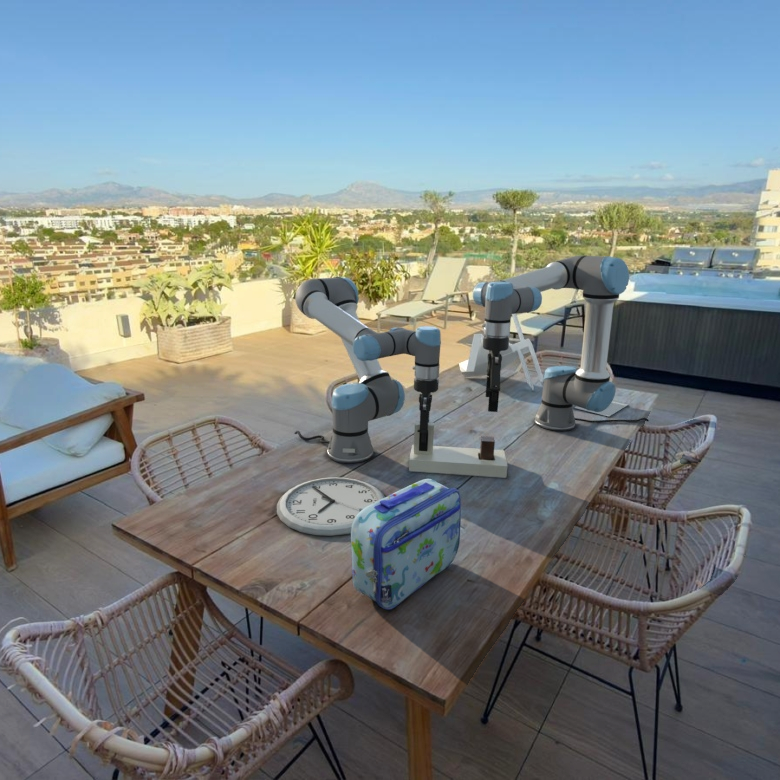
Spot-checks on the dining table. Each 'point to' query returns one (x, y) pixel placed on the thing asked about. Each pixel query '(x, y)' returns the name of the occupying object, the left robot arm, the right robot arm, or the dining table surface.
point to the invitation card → (608, 409)
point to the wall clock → (326, 505)
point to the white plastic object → (480, 355)
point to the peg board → (454, 459)
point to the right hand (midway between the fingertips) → (491, 403)
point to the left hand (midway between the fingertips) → (423, 448)
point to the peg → (487, 448)
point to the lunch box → (405, 541)
